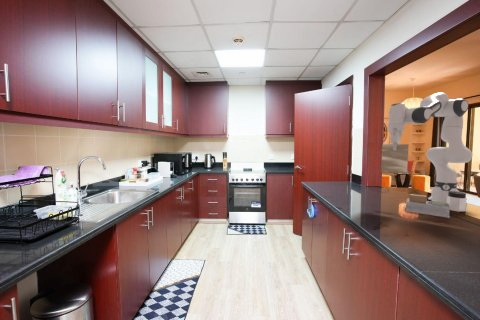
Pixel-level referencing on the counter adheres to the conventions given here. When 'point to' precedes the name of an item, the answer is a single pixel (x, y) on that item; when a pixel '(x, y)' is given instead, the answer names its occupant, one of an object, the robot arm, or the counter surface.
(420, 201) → the offcut tall
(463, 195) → the jar
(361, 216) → the counter surface
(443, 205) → the offcut short
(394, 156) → the sheet
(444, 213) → the rack
